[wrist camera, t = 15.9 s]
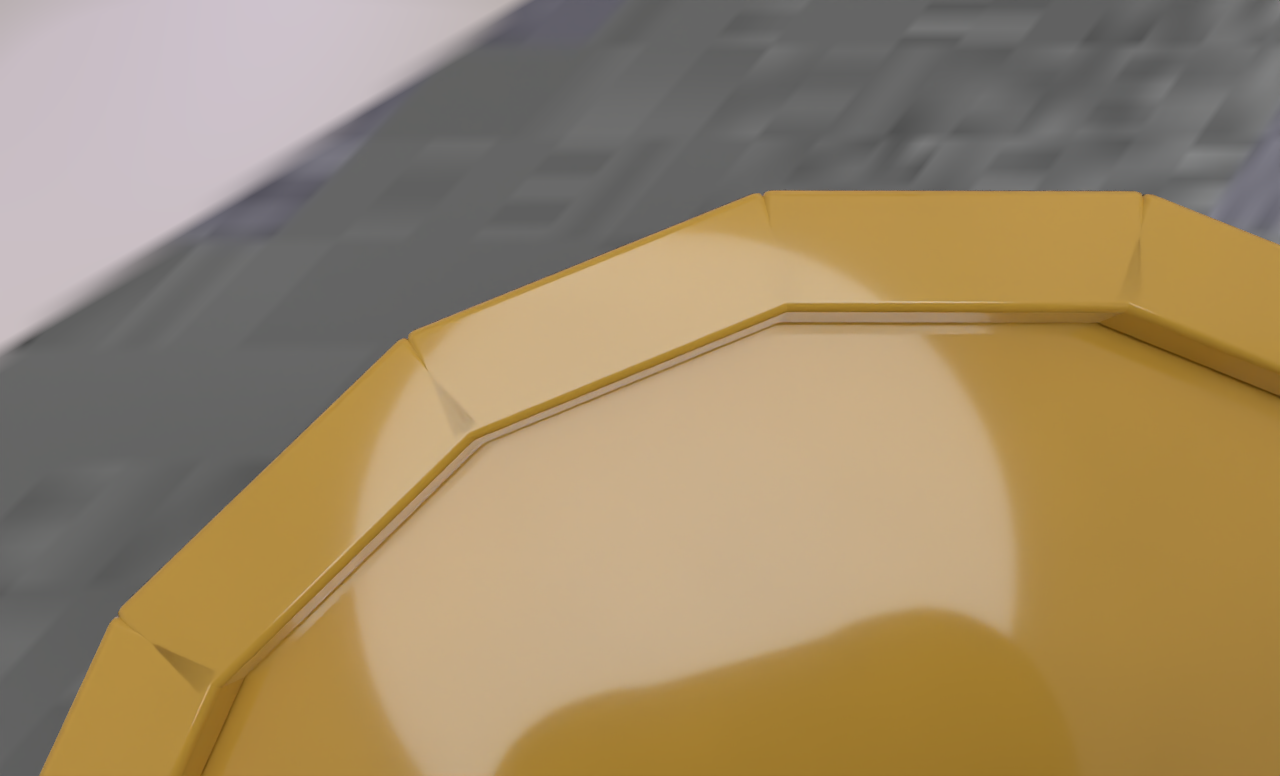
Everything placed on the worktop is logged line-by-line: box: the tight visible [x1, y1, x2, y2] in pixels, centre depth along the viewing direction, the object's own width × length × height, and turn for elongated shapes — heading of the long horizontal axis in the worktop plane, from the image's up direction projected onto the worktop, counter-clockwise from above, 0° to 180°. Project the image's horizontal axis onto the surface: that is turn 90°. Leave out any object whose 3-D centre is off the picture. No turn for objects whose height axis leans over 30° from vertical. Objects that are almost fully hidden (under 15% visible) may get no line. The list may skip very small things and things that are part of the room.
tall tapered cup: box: [39, 190, 1280, 776], centre depth 9 cm, size 6×6×12 cm
